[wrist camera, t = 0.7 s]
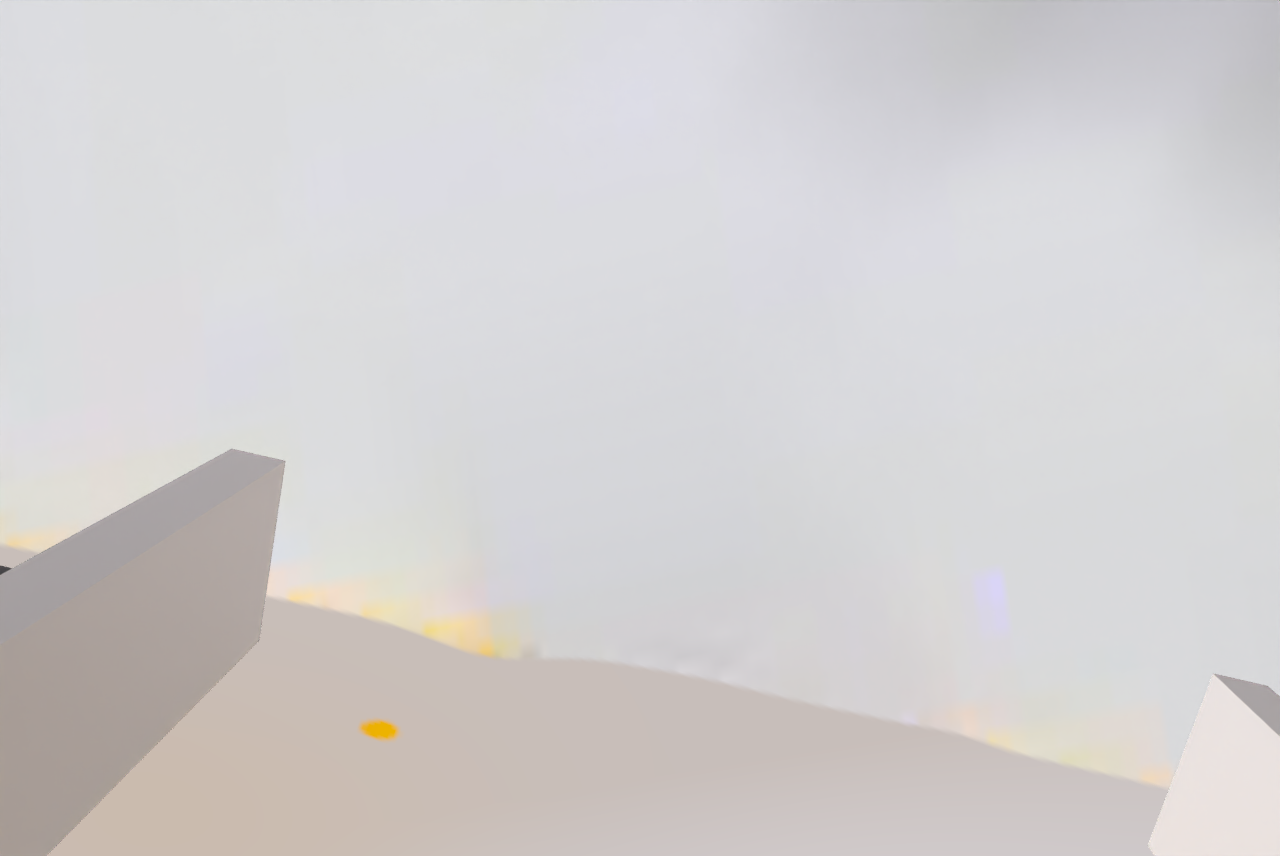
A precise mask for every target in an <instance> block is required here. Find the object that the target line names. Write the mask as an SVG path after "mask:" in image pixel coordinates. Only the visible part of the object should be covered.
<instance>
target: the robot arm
mask: <svg viewBox="0 0 1280 856" xmlns="http://www.w3.org/2000/svg"><path fill="white" fill-rule="evenodd" d="M284 467H285V461H283V460H279V459H274V458H270V457H266V456H261V455H257V454H253V453H248V452H244V451H239V450H235V449H230V450H228V451H227V452H225V453H223V454H221V455H219V456H217V457H216V458H214V459H212V460H210V461H208V462H206V463H205V464H203V465H201V466H199V467H197V468H195V469H194V470H192V471H190V472H188V473H186V474H184V475H183V476H181V477H179V478H177V479H175V480H173V481H172V482H170V483H168V484H166V485H164V486H162V487H161V488H159V489H157V490H155V491H153V492H151V493H150V494H148V495H146V496H144V497H142V498H140V499H139V500H137V501H135V502H133V503H131V504H129V505H128V506H126V507H124V508H122V509H120V510H118V511H117V512H115V513H113V514H111V515H109V516H107V517H106V518H104V519H102V520H100V521H98V522H96V523H95V524H93V525H91V526H89V527H87V528H85V529H84V530H82V531H80V532H78V533H76V534H74V535H73V536H71V537H69V538H67V539H65V540H63V541H62V542H60V543H58V544H56V545H54V546H52V547H51V548H49V549H47V550H45V551H43V552H41V553H40V554H38V555H36V556H34V557H32V558H31V559H29V560H27V561H25V562H23V563H21V564H19V565H18V566H16V567H14V568H8V567H4V566H0V856H47V855H48V854H49V853H50V852H51V851H52V850H53V849H54V848H55V847H56V846H57V845H58V844H59V843H60V842H61V841H62V840H63V839H64V837H66V835H68V834H69V833H70V831H71V830H73V829H74V827H76V826H77V824H78V823H79V822H80V821H81V820H82V819H83V818H84V817H85V816H86V815H87V814H88V813H89V812H90V811H91V810H92V809H93V808H94V807H95V806H96V805H97V804H98V803H99V802H100V801H101V800H102V799H103V798H104V797H105V796H106V795H107V794H108V793H109V792H110V791H111V790H112V789H113V788H114V787H115V786H116V785H117V784H118V783H119V782H120V781H121V780H122V779H123V778H124V777H125V776H126V775H127V774H128V773H129V772H130V771H131V770H132V769H133V768H134V767H135V766H136V765H137V764H138V763H139V762H140V761H141V760H142V759H143V758H144V757H145V756H146V755H147V754H148V753H149V752H150V751H151V750H152V749H153V748H154V746H155V745H157V744H158V742H160V740H162V739H163V737H164V736H165V735H166V734H167V733H168V732H169V731H170V730H171V729H172V728H173V727H174V726H175V725H176V724H177V723H178V722H179V721H180V720H181V719H182V718H183V717H184V716H185V715H186V714H187V713H188V712H189V711H190V710H191V709H192V708H193V707H194V706H195V705H196V704H197V703H198V702H199V701H200V700H201V699H202V698H203V697H204V696H205V695H206V694H207V693H208V692H209V691H210V690H211V689H212V688H213V687H214V686H215V685H216V684H217V683H218V682H219V681H220V680H221V679H222V678H223V677H224V676H225V675H226V674H227V672H229V671H230V670H231V669H232V668H233V667H234V666H235V665H236V663H237V662H239V660H240V659H242V658H243V657H244V656H245V654H247V653H248V652H249V650H250V649H252V647H253V646H254V645H255V644H256V643H257V642H258V641H259V638H260V632H261V625H262V617H263V611H264V604H265V597H266V591H267V584H268V577H269V570H270V563H271V556H272V549H273V543H274V536H275V529H276V522H277V515H278V508H279V501H280V495H281V488H282V481H283V474H284ZM1148 847H1149V848H1150V850H1151V851H1152V853H1153V854H1154V855H1155V856H1280V696H1278V695H1277V694H1276V693H1275V692H1274V691H1273V690H1272V689H1270V688H1269V687H1268V686H1266V685H1261V684H1257V683H1252V682H1248V681H1244V680H1239V679H1235V678H1231V677H1226V676H1222V675H1218V674H1213V675H1212V677H1211V680H1210V683H1209V685H1208V688H1207V691H1206V693H1205V696H1204V698H1203V701H1202V704H1201V706H1200V709H1199V712H1198V714H1197V717H1196V720H1195V722H1194V725H1193V728H1192V730H1191V733H1190V735H1189V738H1188V741H1187V743H1186V746H1185V749H1184V751H1183V754H1182V757H1181V759H1180V762H1179V765H1178V767H1177V770H1176V772H1175V775H1174V778H1173V780H1172V783H1171V786H1170V788H1169V791H1168V794H1167V796H1166V799H1165V802H1164V804H1163V807H1162V809H1161V812H1160V815H1159V817H1158V820H1157V823H1156V825H1155V828H1154V831H1153V833H1152V836H1151V838H1150V842H1149V844H1148Z"/></svg>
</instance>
